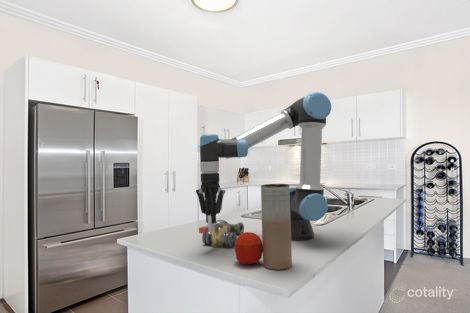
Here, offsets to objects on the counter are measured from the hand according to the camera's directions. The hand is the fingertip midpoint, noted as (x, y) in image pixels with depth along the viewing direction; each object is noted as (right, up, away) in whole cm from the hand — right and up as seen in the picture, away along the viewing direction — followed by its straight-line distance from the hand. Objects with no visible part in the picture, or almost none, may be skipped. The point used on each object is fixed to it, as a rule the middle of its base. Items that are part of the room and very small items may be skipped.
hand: (211, 231), depth 118 cm
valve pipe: (+3, -9, +9) cm, 13 cm away
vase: (+24, -8, -16) cm, 30 cm away
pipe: (+5, -9, +26) cm, 28 cm away
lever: (0, 0, +5) cm, 5 cm away
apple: (+15, -8, -14) cm, 21 cm away
